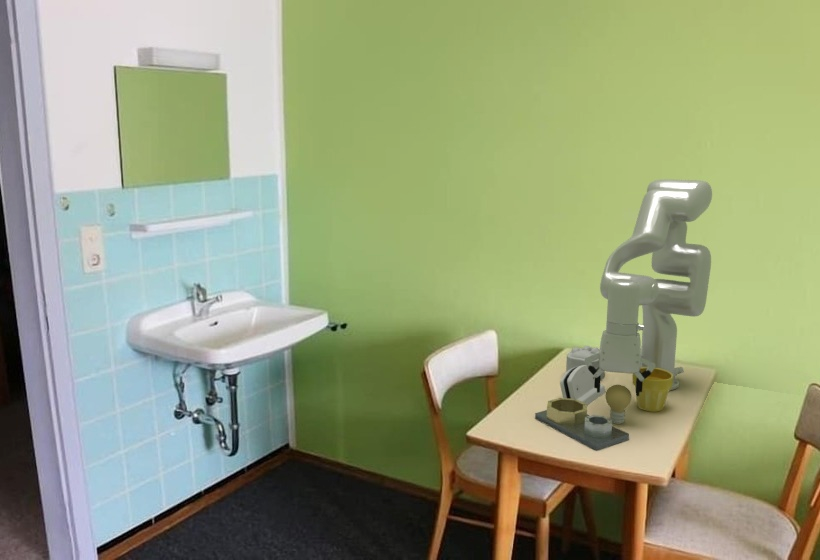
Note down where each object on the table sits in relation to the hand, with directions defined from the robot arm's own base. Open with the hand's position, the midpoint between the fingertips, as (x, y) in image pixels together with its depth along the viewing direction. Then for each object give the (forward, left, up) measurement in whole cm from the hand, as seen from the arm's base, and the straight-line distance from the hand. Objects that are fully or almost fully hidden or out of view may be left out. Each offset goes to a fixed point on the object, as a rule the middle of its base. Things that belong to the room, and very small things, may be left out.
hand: (617, 392), depth 179 cm
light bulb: (-1, 0, -9) cm, 9 cm away
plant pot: (-16, -2, -9) cm, 18 cm away
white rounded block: (-5, -17, -9) cm, 20 cm away
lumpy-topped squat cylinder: (-18, -29, -9) cm, 36 cm away
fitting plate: (+10, -2, -8) cm, 13 cm away
